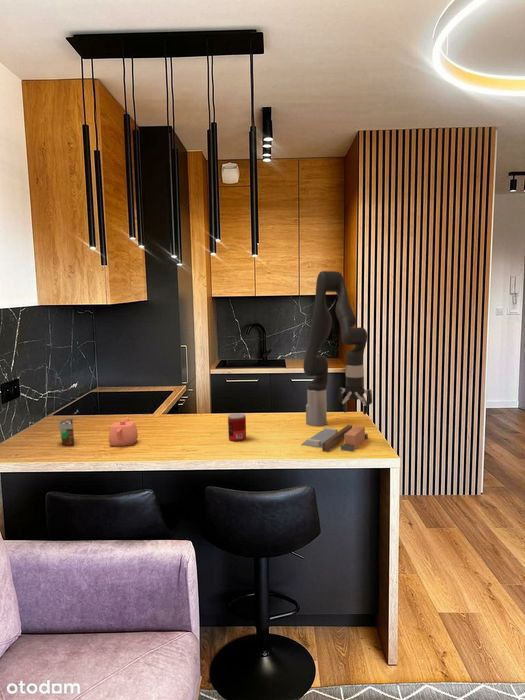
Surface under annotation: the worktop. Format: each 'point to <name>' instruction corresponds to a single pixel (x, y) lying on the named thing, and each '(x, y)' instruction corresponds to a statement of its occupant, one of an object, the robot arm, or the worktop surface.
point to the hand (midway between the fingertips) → (355, 413)
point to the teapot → (123, 433)
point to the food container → (67, 432)
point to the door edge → (335, 439)
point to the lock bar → (355, 436)
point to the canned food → (237, 427)
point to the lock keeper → (320, 437)
